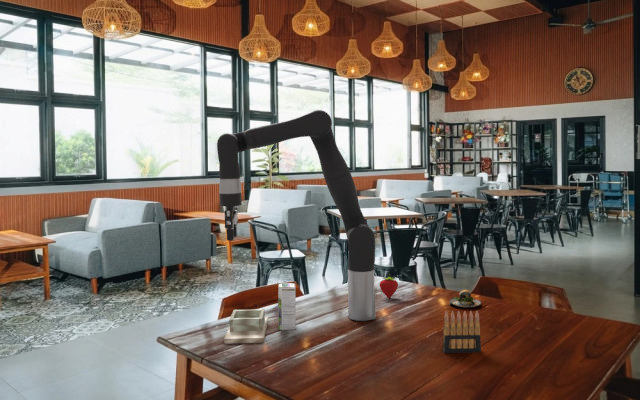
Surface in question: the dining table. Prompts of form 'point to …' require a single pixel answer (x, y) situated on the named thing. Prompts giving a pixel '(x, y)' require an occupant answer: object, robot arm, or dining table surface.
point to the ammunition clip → (461, 334)
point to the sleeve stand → (247, 326)
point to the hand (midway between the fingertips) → (232, 238)
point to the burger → (465, 300)
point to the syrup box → (287, 306)
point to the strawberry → (388, 286)
